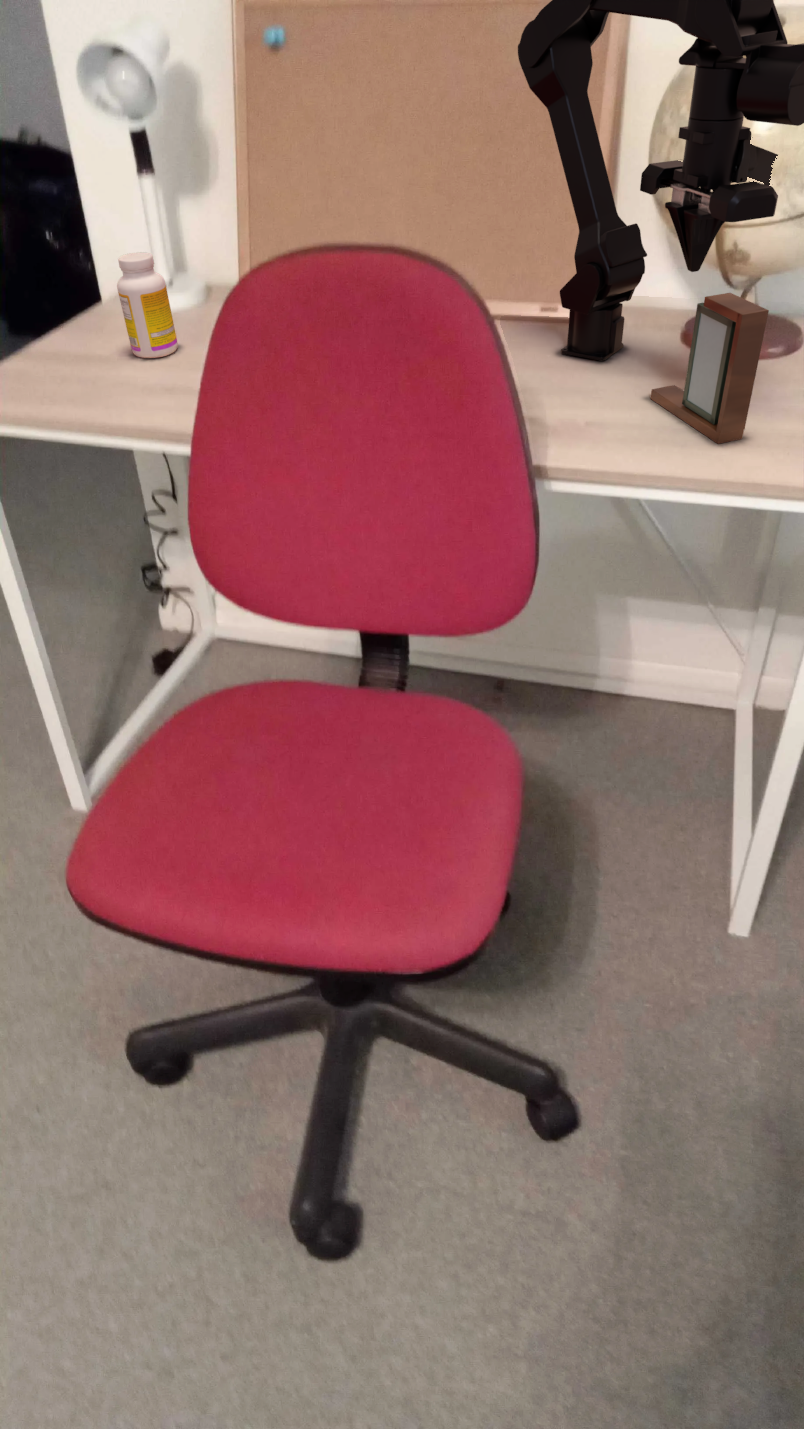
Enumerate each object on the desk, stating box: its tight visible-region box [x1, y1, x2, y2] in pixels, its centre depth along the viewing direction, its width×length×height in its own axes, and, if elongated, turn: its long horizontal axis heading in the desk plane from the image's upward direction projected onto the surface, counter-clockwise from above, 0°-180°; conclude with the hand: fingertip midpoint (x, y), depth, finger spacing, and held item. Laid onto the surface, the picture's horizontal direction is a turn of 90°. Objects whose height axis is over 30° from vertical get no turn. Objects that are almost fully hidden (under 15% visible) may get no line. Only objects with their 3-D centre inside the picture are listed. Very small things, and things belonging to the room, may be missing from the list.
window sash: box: [682, 302, 736, 425], centre depth 104 cm, size 7×1×11 cm, turn 20°
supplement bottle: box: [116, 251, 179, 359], centre depth 132 cm, size 7×7×13 cm
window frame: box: [649, 292, 770, 445], centre depth 106 cm, size 14×3×14 cm, turn 19°
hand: (693, 270), depth 111 cm, fingers closed
